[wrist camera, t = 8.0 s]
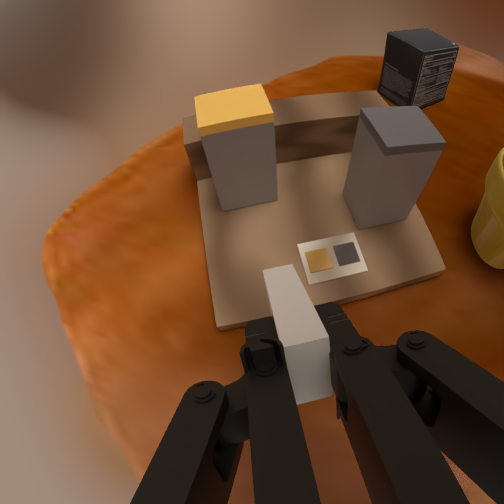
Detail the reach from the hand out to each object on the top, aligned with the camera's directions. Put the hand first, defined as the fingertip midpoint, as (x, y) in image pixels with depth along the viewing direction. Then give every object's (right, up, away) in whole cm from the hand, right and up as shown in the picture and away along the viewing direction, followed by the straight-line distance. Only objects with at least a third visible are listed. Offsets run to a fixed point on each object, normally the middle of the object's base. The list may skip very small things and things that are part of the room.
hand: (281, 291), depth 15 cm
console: (+4, +6, +13) cm, 15 cm away
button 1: (+10, +6, +11) cm, 16 cm away
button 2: (-2, +8, +13) cm, 15 cm away
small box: (+22, +25, +21) cm, 40 cm away
